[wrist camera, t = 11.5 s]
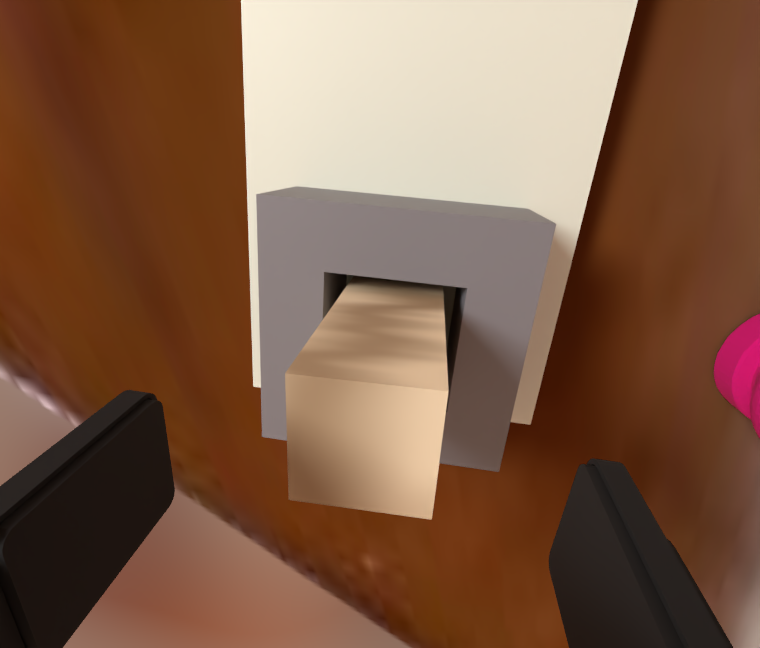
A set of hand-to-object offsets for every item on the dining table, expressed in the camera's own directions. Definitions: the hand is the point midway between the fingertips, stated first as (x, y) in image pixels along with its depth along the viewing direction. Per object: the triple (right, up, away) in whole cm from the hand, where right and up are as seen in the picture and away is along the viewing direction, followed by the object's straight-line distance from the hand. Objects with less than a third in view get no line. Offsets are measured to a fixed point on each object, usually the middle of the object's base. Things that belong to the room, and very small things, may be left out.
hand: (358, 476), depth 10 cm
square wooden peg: (+1, +4, +13) cm, 13 cm away
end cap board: (+2, +10, +12) cm, 16 cm away
